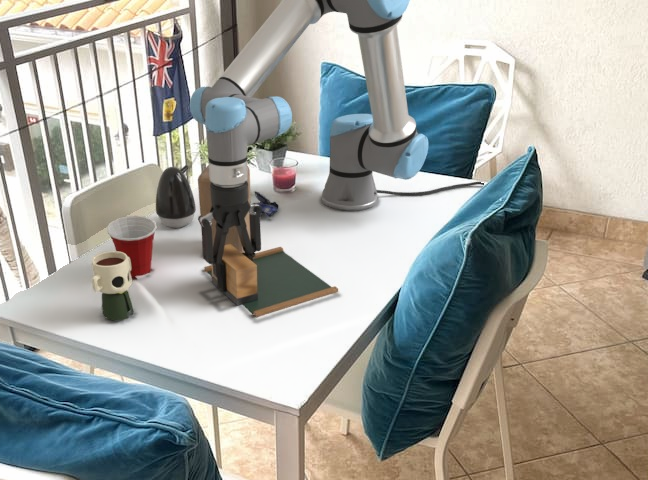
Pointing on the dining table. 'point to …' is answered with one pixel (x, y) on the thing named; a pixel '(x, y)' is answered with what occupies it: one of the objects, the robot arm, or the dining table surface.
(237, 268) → the eraser
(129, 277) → the character mug
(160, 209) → the black egg-shaped piece
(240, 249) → the block
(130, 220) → the plastic cup
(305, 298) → the chalkboard
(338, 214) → the dining table surface
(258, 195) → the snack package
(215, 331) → the dining table surface
